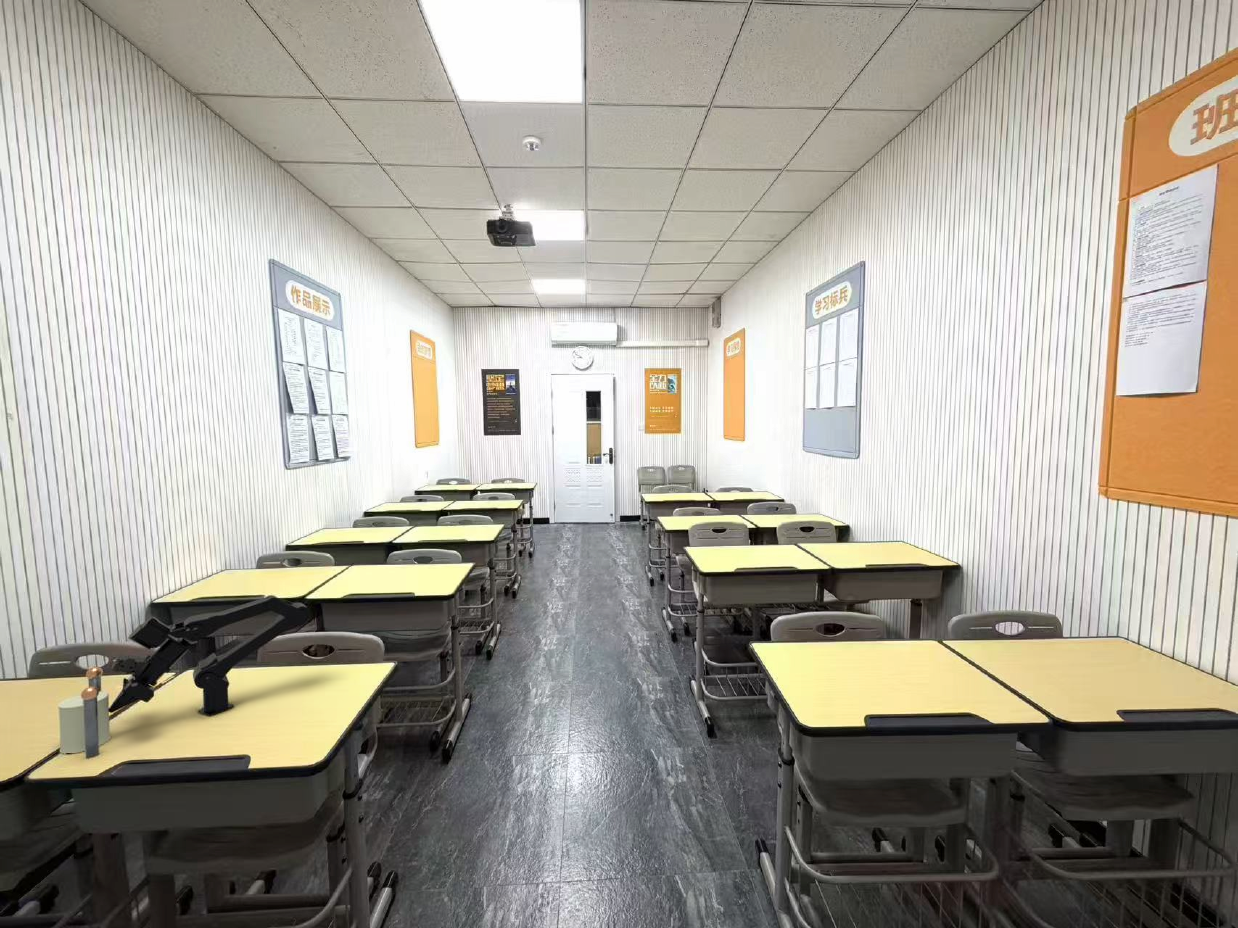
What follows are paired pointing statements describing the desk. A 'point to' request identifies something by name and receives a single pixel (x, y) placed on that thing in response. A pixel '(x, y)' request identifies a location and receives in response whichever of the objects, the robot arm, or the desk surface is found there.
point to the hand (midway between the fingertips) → (109, 711)
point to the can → (81, 723)
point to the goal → (91, 711)
